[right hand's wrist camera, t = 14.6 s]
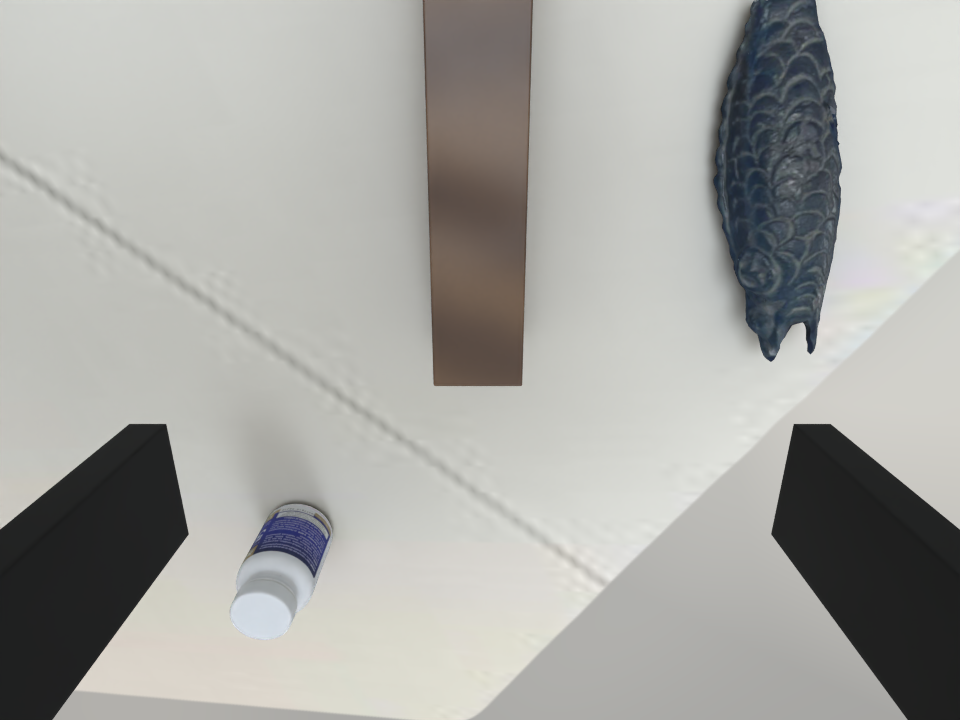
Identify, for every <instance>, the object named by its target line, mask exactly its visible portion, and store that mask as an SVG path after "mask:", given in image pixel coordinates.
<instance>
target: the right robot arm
mask: <svg viewBox="0 0 960 720" xmlns="http://www.w3.org/2000/svg"><path fill="white" fill-rule="evenodd" d="M188 534H189V533H188V528H187V524H186V519H185V514H184V509H183V504H182V499H181V494H180V489H179V485H178V480H177V475H176V470H175V465H174V460H173V455H172V450H171V446H170V441H169V436H168V431H167V426H166V424H129V425H128V426H127V427H125V428H124V429H123V430H122V431H120V432H119V433H118V434H117V435H116V436H114V437H113V438H112V439H111V440H109V441H108V442H107V443H106V444H105V445H103V446H102V447H101V448H100V449H98V450H97V451H96V452H95V453H94V454H92V455H91V456H90V457H89V458H87V459H86V460H85V461H84V462H82V463H81V464H80V465H79V466H78V467H76V468H75V469H74V470H73V471H71V472H70V473H69V474H68V475H67V476H65V477H64V478H63V479H62V480H60V481H59V482H58V483H57V484H56V485H54V486H53V487H52V488H51V489H49V490H48V491H47V492H46V493H45V494H43V495H42V496H41V497H40V498H38V499H37V500H36V501H35V502H34V503H32V504H31V505H30V506H29V507H27V508H26V509H25V510H24V511H22V512H21V513H20V514H19V515H18V516H16V517H15V518H14V519H13V520H11V521H10V522H9V523H8V524H7V525H5V526H4V527H3V528H2V529H0V720H52V719H53V718H54V717H55V715H56V714H57V713H58V711H59V710H60V708H61V707H62V706H63V704H64V703H65V702H66V700H67V699H68V698H69V696H70V695H71V694H72V692H73V691H74V690H75V688H76V687H77V685H78V684H79V683H80V681H81V680H82V679H83V677H84V676H85V675H86V673H87V672H88V670H89V669H90V668H91V666H92V665H93V664H94V662H95V661H96V660H97V658H98V657H99V655H100V654H101V653H102V651H103V650H104V649H105V647H106V646H107V645H108V643H109V642H110V641H111V639H112V638H113V636H114V635H115V634H116V632H117V631H118V630H119V628H120V627H121V626H122V624H123V623H124V621H125V620H126V619H127V617H128V616H129V615H130V613H131V612H132V611H133V609H134V608H135V607H136V605H137V604H138V602H139V601H140V600H141V598H142V597H143V596H144V594H145V593H146V592H147V590H148V589H149V587H150V586H151V585H152V583H153V582H154V581H155V579H156V578H157V577H158V575H159V574H160V573H161V571H162V570H163V568H164V567H165V566H166V564H167V563H168V562H169V560H170V559H171V558H172V556H173V555H174V553H175V552H176V551H177V549H178V548H179V547H180V545H181V544H182V543H183V541H184V540H185V539H186V537H187V536H188ZM771 534H772V536H773V537H774V539H775V540H776V541H777V543H778V544H779V545H780V547H781V548H782V549H783V551H784V552H785V553H786V555H787V556H788V558H789V559H790V560H791V562H792V563H793V564H794V566H795V567H796V568H797V570H798V571H799V572H800V574H801V575H802V577H803V578H804V579H805V581H806V582H807V583H808V585H809V586H810V587H811V589H812V590H813V591H814V593H815V594H816V596H817V597H818V598H819V600H820V601H821V602H822V604H823V605H824V606H825V608H826V609H827V611H828V612H829V613H830V615H831V616H832V617H833V619H834V620H835V621H836V623H837V624H838V626H839V627H840V628H841V630H842V631H843V632H844V634H845V635H846V636H847V638H848V639H849V641H850V642H851V643H852V645H853V646H854V647H855V649H856V650H857V651H858V653H859V654H860V655H861V657H862V658H863V659H864V661H865V662H866V664H867V665H868V666H869V668H870V669H871V670H872V672H873V673H874V675H875V676H876V677H877V679H878V680H879V681H880V683H881V684H882V685H883V687H884V688H885V689H886V691H887V692H888V694H889V695H890V696H891V698H892V699H893V700H894V702H895V703H896V704H897V706H898V707H899V708H900V710H901V711H902V713H903V714H904V715H905V717H906V718H907V719H908V720H960V529H958V528H957V527H956V526H955V525H953V524H952V523H951V522H950V521H949V520H947V519H946V518H945V517H944V516H942V515H941V514H940V513H939V512H937V511H936V510H935V509H934V508H933V507H931V506H930V505H929V504H928V503H926V502H925V501H924V500H923V499H922V498H920V497H919V496H918V495H917V494H915V493H914V492H913V491H912V490H911V489H909V488H908V487H907V486H906V485H904V484H903V483H902V482H901V481H900V480H898V479H897V478H896V477H895V476H893V475H892V474H891V473H890V472H888V471H887V470H886V469H885V468H884V467H882V466H881V465H880V464H879V463H877V462H876V461H875V460H874V459H873V458H871V457H870V456H869V455H868V454H866V453H865V452H864V451H863V450H862V449H860V448H859V447H858V446H857V445H855V444H854V443H853V442H852V441H851V440H849V439H848V438H847V437H846V436H844V435H843V434H842V433H841V432H839V431H838V430H837V429H836V428H835V427H833V426H832V425H831V424H794V426H793V431H792V436H791V441H790V446H789V450H788V455H787V460H786V465H785V470H784V475H783V480H782V485H781V490H780V494H779V499H778V504H777V509H776V514H775V519H774V524H773V528H772V533H771Z"/></svg>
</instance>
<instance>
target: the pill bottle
mask: <svg viewBox="0 0 960 720" xmlns="http://www.w3.org/2000/svg"><path fill="white" fill-rule="evenodd" d="M332 536H333V534H332V528H331V525H330V523H329V521H328V520H327V518H326V517H325V516H324V515H323V514H322V513H321V512H320V511H318V510H317V509H315V508H313V507H310V506H307V505H303V504H288V505H284V506H282V507H279V508H278V509H276V510H275V511H273V512H272V513H271V514H270V516H269V517H268V519H267V520H266V522H265V524H264V526H263V527H262V529H261V531H260V533H259V535H258V536H257V538H256V540H255V542H254V544H253V545H252V547H251V549H250V551H249V553H248V554H247V556H246V558H245V560H244V562H243V563H242V565H241V567H240V569H239V572H238V575H237V579H236V588H237V594H236V597H235V599H234V601H233V603H232V605H231V608H230V618H231V621H232V623H233V624H234V626H235V627H236V628H237V629H238V630H239V631H240V632H241V633H243V634H244V635H246V636H248V637H251V638H254V639H259V640H269V639H274V638H277V637H280V636H281V635H283V634H284V633H285V632H286V631H287V630H288V629H289V627H290V625H291V623H292V621H293V619H294V616H295V614H296V613H297V612H298V611H300V610H301V609H303V608H304V607H305V606H306V604H307V603H308V602H309V600H310V598H311V596H312V594H313V591H314V588H315V586H316V583H317V580H318V577H319V574H320V571H321V569H322V566H323V563H324V561H325V558H326V556H327V553H328V551H329V548H330V545H331V542H332Z"/></svg>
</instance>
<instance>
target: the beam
mask: <svg viewBox="0 0 960 720" xmlns="http://www.w3.org/2000/svg"><path fill="white" fill-rule="evenodd" d="M532 12H533V0H423V23H424V58H425V94H426V129H427V165H428V200H429V236H430V272H431V307H432V343H433V378H434V386H522V369H523V334H524V298H525V262H526V227H527V191H528V155H529V119H530V84H531V48H532Z"/></svg>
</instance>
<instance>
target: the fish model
mask: <svg viewBox="0 0 960 720" xmlns="http://www.w3.org/2000/svg"><path fill="white" fill-rule="evenodd" d="M736 56H737V61H736V64H735V66H734V68H733V70H732V71H731V73H730V75H729V77H728V81H727V87H728V93H727V94H726V96H725V98H724V101H723V104H722V107H721V111H722V118H723V119H722V123H721V126H720V128H719V130H718V132H719V141H720V146H719V147H718V149H717V151H716V157H715V162H716V165H717V168H718V173H717V175H716V176H715V178H714V185H715V187H716V190H717V193H718V199H717V205H718V209H719V211H720V212H721V214H722V216H723V224H722V228H723V230H724V233H725V235H726V238H727V240H728V243H729V249H730V255H731V258H732V259H733V261H734V270H735V273H736V276H737V278H738V281H739V283H740V284H741V286H742V287H743V288H744V289H745V291H746V322H747V324H748V326H749V327H750V328H751V329H752V330H753V331H754V332H755V333H756V334H758V338H759V342H760V347H761V350H762V353H763V355H764V357H765V358H766V359H768V360H769V361H770V362H771V361H773V360H774V359H775V357H776V355H777V353H778V351H779V349H780V343H781V342H782V340H783V339H784V337H785V336H786V334H787V332H788V331H789V329H790V328H791V326H792V325H794V324H797V323H801V322H803V323H804V324H805V327H806V341H807V344H808V348H807V351H808V352H809V353H810V354H811V353H812V352H813V351H814V349H815V345H816V338H817V327H818V323H819V321H820V311H821V307H822V302H823V297H824V293H825V289H826V284H827V279H828V276H829V272H830V267H831V263H832V259H833V251H834V244H835V241H836V233H837V225H838V220H839V213H840V203H841V198H840V196H841V187H840V185H839V176H840V173H841V169H842V163H841V158H840V153H839V148H838V145H839V142H838V141H837V136H838V132H837V119H836V108H837V106H836V102H835V99H834V95H835V90H836V86H835V83H834V79H833V70H832V67H831V62H830V57H829V54H828V51H827V45H826V40H825V37H824V33H823V32H822V30H821V28H820V26H819V22H818V16H817V8H816V1H815V0H756V1H753V3H752V6H751V16H750V19H749V21H748V22H747V24H746V25H745V36H744V39H743V42H742V44H741V45H740V47H739V49H738V51H737V54H736Z"/></svg>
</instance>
